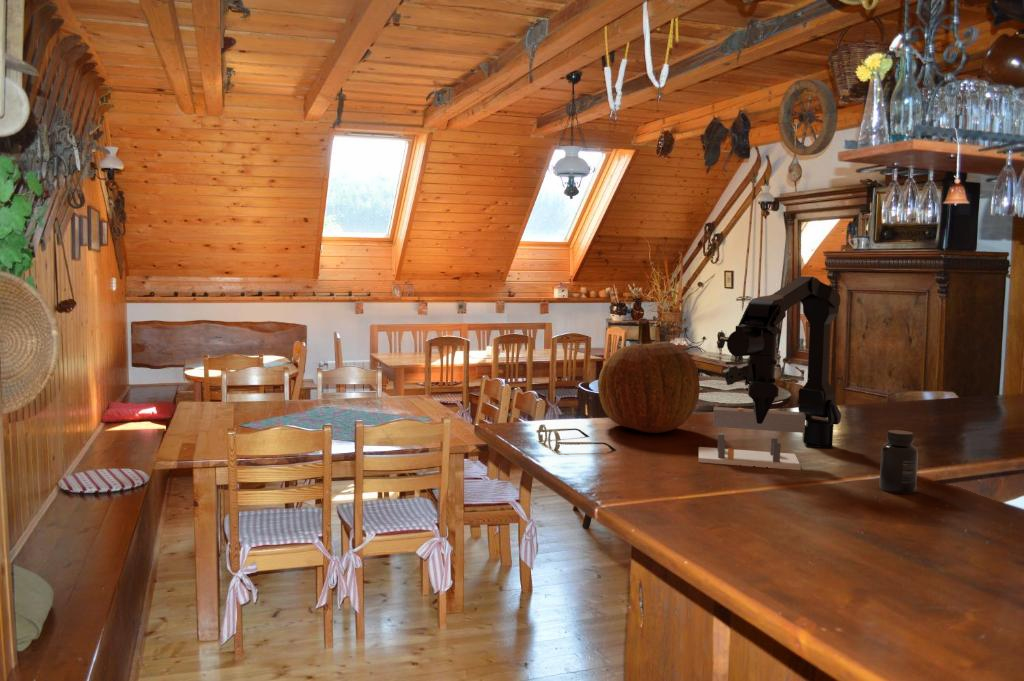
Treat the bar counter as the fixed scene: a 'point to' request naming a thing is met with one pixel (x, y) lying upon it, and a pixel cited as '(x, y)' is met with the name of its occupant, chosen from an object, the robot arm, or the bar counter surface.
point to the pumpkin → (649, 384)
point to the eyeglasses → (559, 437)
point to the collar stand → (749, 456)
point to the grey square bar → (747, 420)
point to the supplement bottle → (899, 463)
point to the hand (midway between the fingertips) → (758, 421)
